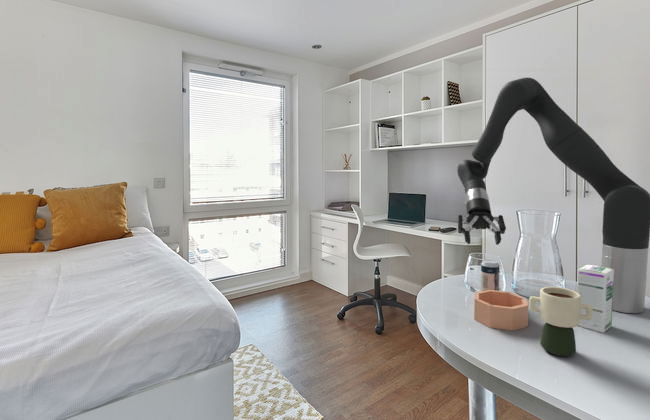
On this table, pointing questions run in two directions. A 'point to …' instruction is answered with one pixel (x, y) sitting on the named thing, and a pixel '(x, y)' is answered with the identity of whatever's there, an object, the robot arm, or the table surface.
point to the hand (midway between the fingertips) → (483, 243)
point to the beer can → (489, 275)
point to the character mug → (559, 318)
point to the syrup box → (596, 296)
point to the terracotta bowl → (501, 310)
